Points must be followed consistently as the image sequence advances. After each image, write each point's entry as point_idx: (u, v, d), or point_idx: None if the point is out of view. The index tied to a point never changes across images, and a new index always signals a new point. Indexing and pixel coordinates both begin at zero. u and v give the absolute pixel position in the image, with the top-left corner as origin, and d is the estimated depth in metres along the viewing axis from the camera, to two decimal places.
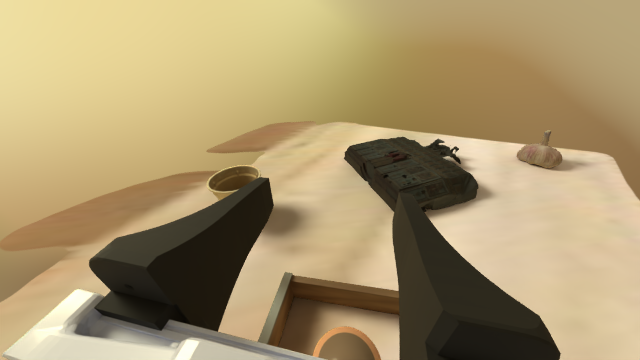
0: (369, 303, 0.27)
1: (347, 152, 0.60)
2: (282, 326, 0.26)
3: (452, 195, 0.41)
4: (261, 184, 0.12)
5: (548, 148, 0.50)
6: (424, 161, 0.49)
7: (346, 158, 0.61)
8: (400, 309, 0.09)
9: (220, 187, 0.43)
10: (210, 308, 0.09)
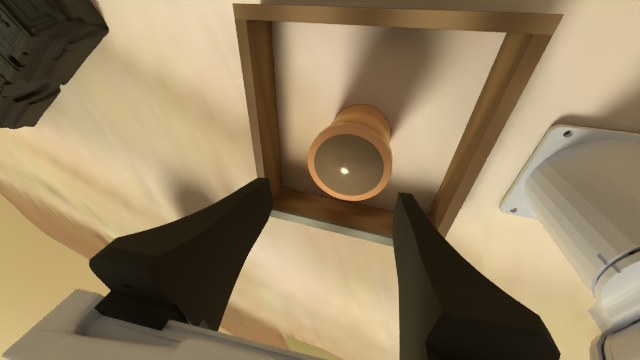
0: (269, 106, 0.20)
1: (11, 126, 0.31)
2: (313, 198, 0.25)
3: None
4: (261, 184, 0.12)
5: None
6: None
7: (30, 124, 0.32)
8: (400, 309, 0.09)
9: None
10: (210, 308, 0.09)
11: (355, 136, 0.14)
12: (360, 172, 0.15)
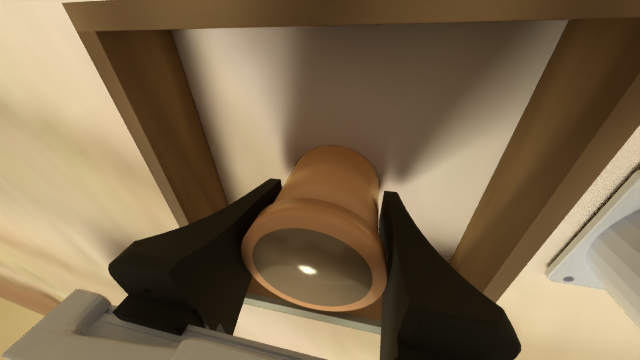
0: (195, 157, 0.13)
1: None
2: None
3: None
4: (274, 185, 0.12)
5: None
6: None
7: None
8: (382, 305, 0.09)
9: None
10: (226, 312, 0.09)
11: (312, 232, 0.07)
12: (333, 280, 0.09)
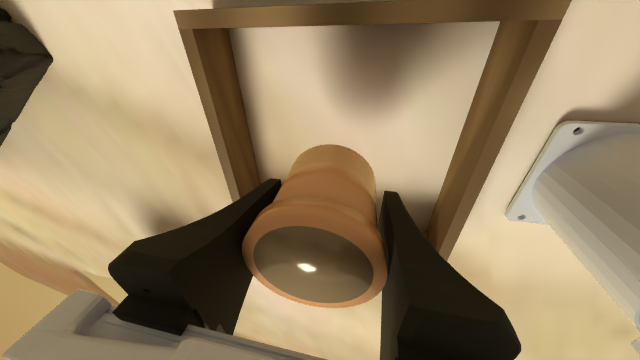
0: (238, 125, 0.17)
1: None
2: None
3: None
4: (274, 185, 0.12)
5: None
6: None
7: None
8: (382, 305, 0.09)
9: None
10: (226, 312, 0.09)
11: (314, 229, 0.08)
12: (334, 277, 0.09)
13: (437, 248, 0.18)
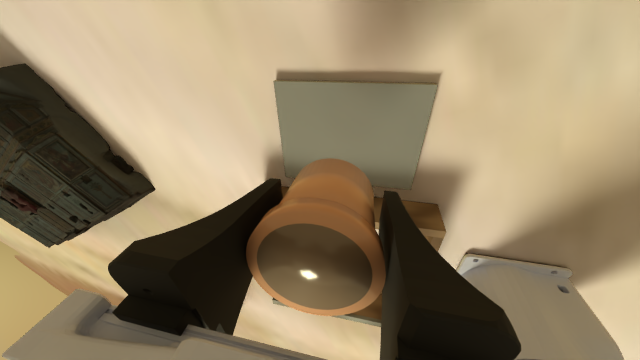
0: None
1: None
2: None
3: (56, 127, 0.23)
4: (273, 185, 0.12)
5: None
6: None
7: None
8: (382, 305, 0.09)
9: None
10: (226, 312, 0.09)
11: (318, 227, 0.08)
12: (334, 279, 0.09)
13: None
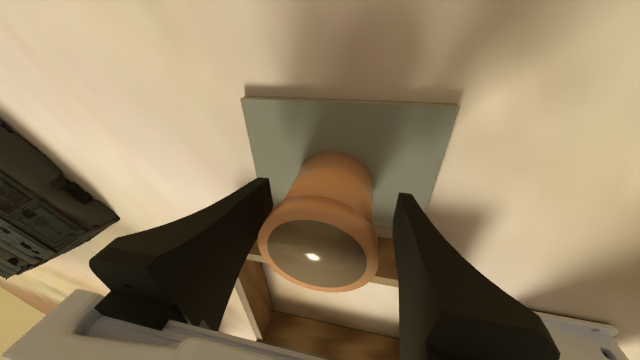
0: (256, 276, 0.23)
1: None
2: (302, 323, 0.28)
3: None
4: (261, 184, 0.12)
5: None
6: None
7: None
8: (400, 309, 0.09)
9: None
10: (210, 308, 0.09)
11: (319, 223, 0.09)
12: (334, 264, 0.11)
13: None
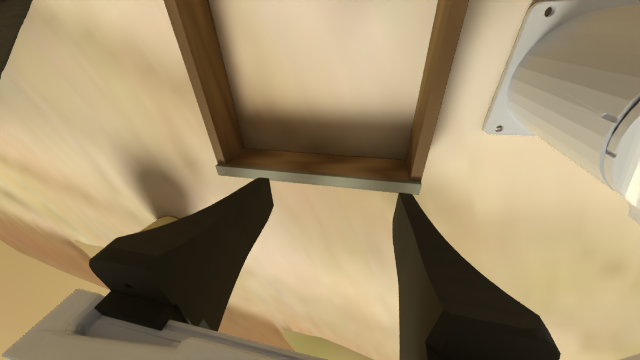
0: (206, 37, 0.17)
1: None
2: (278, 154, 0.22)
3: None
4: (261, 184, 0.12)
5: None
6: None
7: None
8: (400, 309, 0.09)
9: None
10: (210, 308, 0.09)
11: None
12: None
13: (412, 163, 0.17)
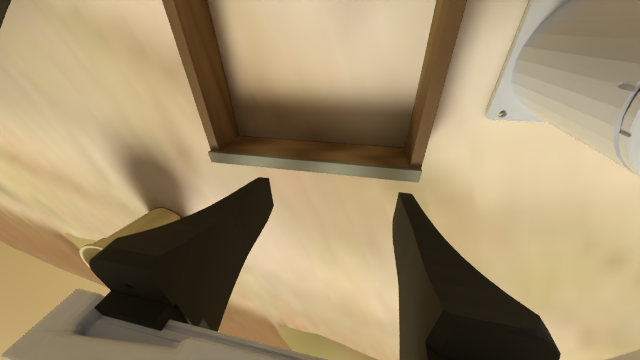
0: (199, 15, 0.16)
1: None
2: (274, 141, 0.21)
3: None
4: (261, 184, 0.12)
5: None
6: None
7: None
8: (400, 309, 0.09)
9: None
10: (210, 308, 0.09)
11: None
12: None
13: (412, 149, 0.17)
